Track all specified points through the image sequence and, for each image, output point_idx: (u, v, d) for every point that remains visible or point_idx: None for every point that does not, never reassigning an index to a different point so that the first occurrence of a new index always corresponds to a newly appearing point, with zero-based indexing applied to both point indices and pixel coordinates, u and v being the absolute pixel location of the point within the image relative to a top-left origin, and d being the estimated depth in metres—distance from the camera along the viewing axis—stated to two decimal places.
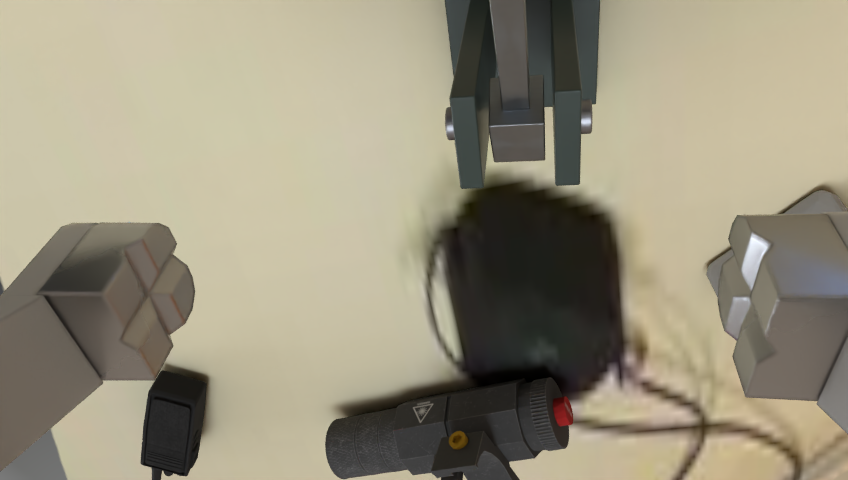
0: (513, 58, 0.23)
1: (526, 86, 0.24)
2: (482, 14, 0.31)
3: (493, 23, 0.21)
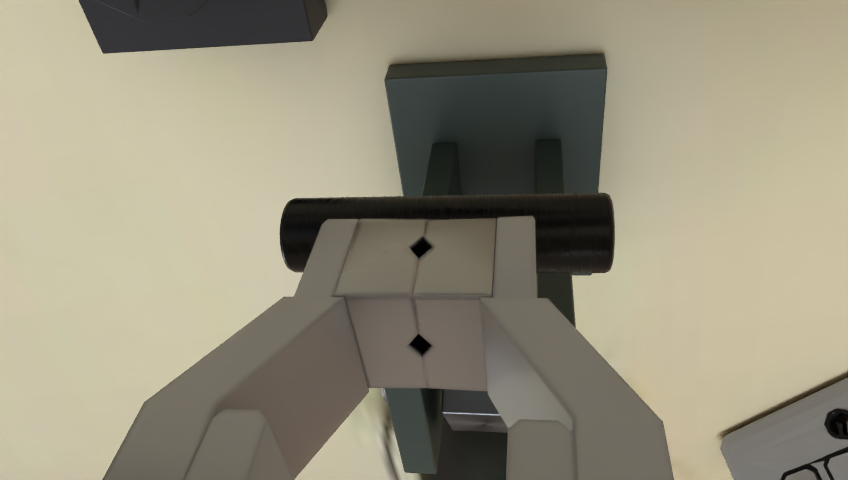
0: None
1: None
2: None
3: None
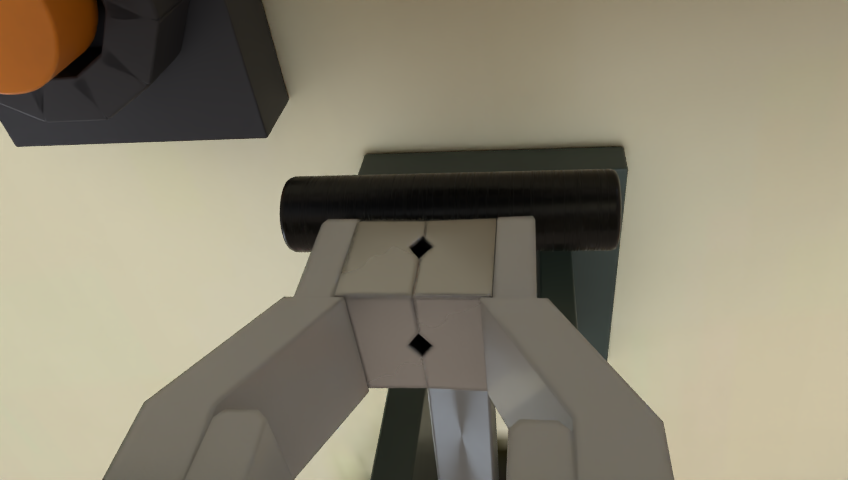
0: None
1: None
2: None
3: (431, 408, 0.11)
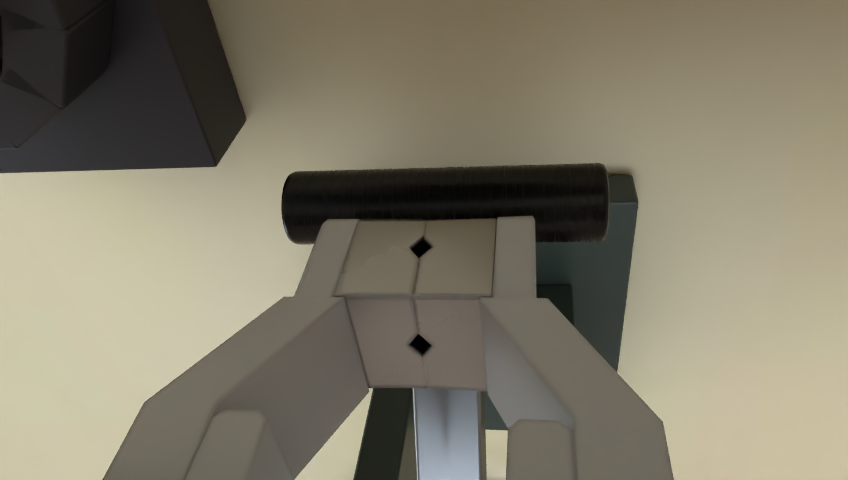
0: None
1: None
2: None
3: (416, 431, 0.11)
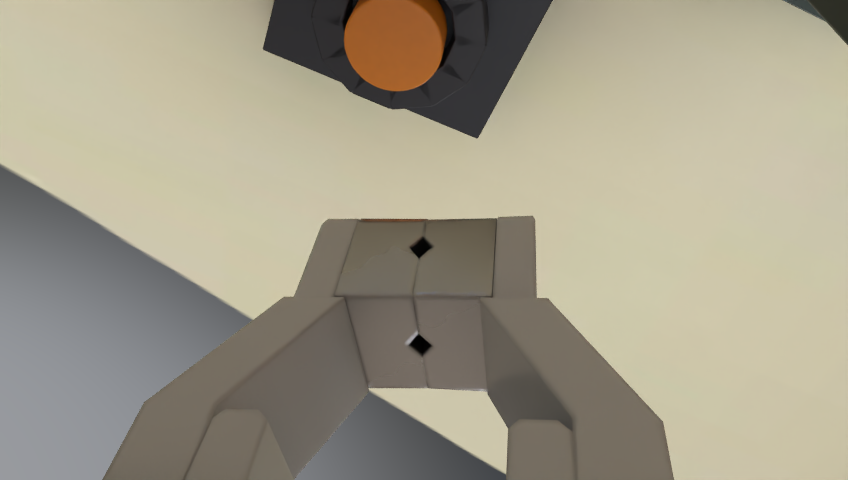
0: None
1: None
2: None
3: None
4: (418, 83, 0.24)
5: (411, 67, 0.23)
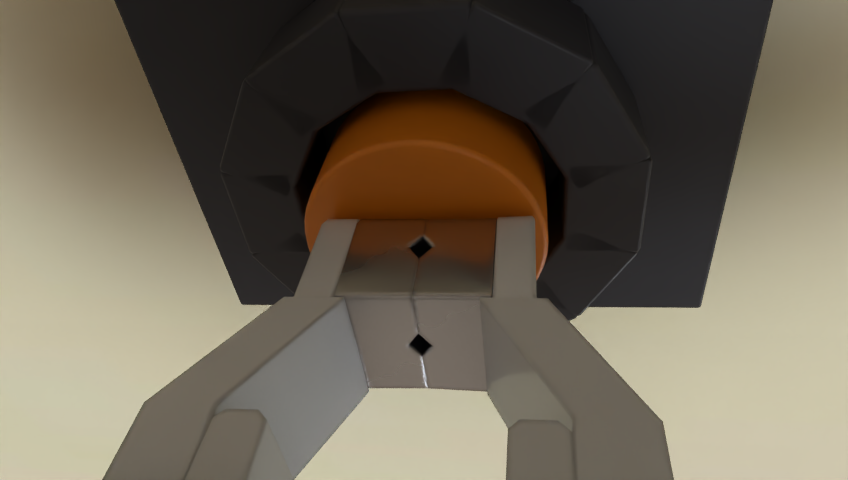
0: None
1: None
2: None
3: None
4: None
5: None
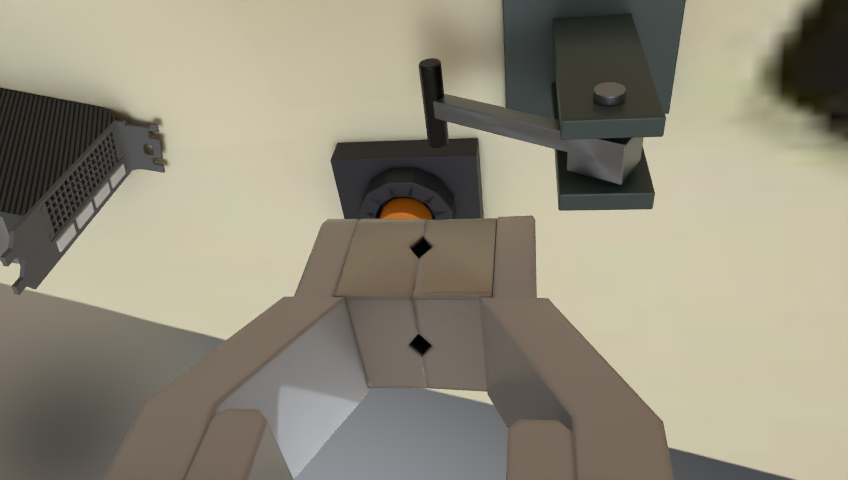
0: (516, 129, 0.33)
1: (546, 129, 0.32)
2: (553, 114, 0.37)
3: (486, 131, 0.34)
4: None
5: None
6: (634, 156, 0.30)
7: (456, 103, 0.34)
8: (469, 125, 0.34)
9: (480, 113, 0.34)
